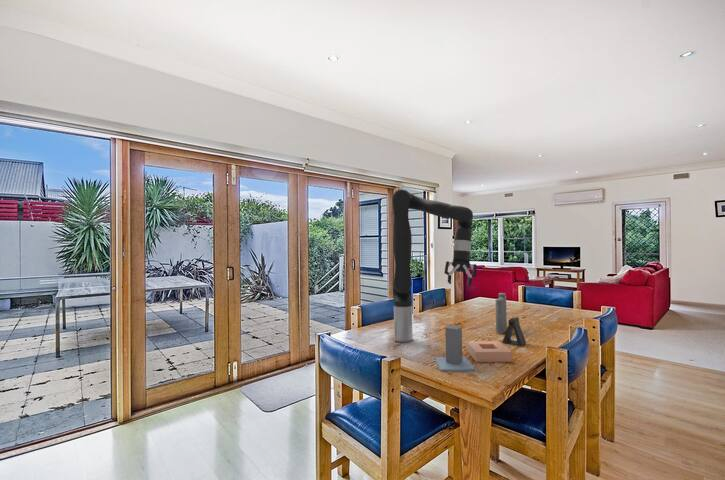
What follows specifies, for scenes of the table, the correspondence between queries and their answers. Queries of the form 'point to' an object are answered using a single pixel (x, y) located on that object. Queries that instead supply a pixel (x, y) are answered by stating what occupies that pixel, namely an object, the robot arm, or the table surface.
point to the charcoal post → (453, 344)
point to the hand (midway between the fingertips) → (459, 285)
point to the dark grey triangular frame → (518, 332)
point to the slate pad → (454, 365)
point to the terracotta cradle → (489, 351)
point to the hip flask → (501, 314)
